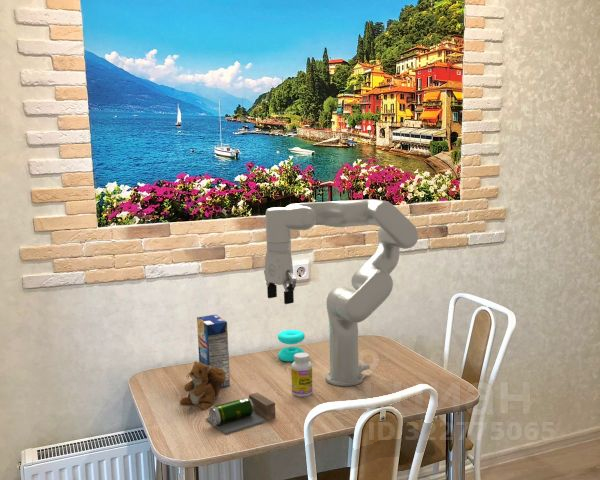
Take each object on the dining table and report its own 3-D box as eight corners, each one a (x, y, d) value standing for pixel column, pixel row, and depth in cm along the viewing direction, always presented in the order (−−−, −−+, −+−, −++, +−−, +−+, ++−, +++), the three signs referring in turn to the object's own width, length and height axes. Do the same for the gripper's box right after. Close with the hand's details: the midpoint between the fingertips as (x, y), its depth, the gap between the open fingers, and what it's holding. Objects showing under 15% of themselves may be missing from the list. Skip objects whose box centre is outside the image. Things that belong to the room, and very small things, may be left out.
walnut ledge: (258, 406, 196) (257, 392, 195) (275, 417, 188) (274, 402, 187) (249, 408, 194) (248, 394, 193) (266, 420, 186) (266, 405, 185)
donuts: (302, 336, 231) (275, 336, 233) (303, 363, 233) (276, 362, 234) (306, 328, 241) (280, 328, 242) (306, 354, 243) (280, 353, 244)
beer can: (244, 395, 190) (207, 405, 184) (253, 398, 186) (216, 408, 179) (246, 413, 190) (210, 424, 184) (255, 416, 186) (218, 427, 179)
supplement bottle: (297, 399, 201) (296, 359, 199) (288, 392, 206) (287, 353, 204) (316, 394, 204) (315, 356, 202) (306, 388, 209) (305, 350, 207)
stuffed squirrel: (177, 404, 199) (175, 364, 197) (210, 390, 210) (208, 351, 208) (199, 412, 193) (197, 370, 191) (232, 397, 204) (230, 357, 202)
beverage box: (210, 390, 210) (207, 325, 207) (200, 379, 220) (196, 317, 216) (230, 386, 213) (227, 322, 210) (218, 375, 223) (216, 314, 219)
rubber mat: (245, 408, 194) (244, 406, 194) (265, 422, 185) (265, 420, 185) (206, 419, 187) (206, 418, 187) (225, 434, 177) (225, 432, 177)
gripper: (254, 245, 205) (256, 297, 207) (283, 252, 190) (285, 307, 193) (274, 242, 209) (275, 293, 211) (304, 249, 195) (305, 303, 197)
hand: (280, 300), depth 202 cm, fingers open, 9 cm apart
